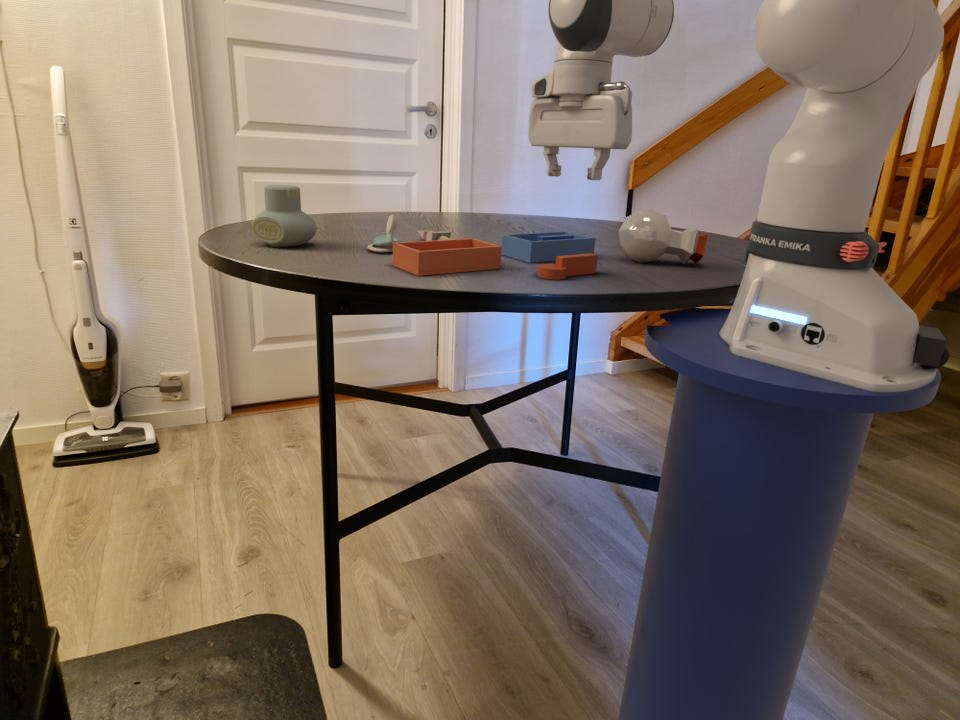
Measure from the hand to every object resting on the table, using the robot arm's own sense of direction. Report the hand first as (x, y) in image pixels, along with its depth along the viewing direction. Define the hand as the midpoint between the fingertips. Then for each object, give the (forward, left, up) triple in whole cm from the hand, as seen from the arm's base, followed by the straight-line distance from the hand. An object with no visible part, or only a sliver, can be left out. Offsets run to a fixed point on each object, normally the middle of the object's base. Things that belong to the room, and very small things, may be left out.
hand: (573, 178), depth 99 cm
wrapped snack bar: (+23, +10, -15) cm, 29 cm away
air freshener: (+34, +36, -15) cm, 52 cm away
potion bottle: (-3, -20, -15) cm, 25 cm away
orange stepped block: (-5, +4, -14) cm, 16 cm away
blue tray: (+9, -4, -14) cm, 17 cm away
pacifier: (+23, +22, -15) cm, 35 cm away
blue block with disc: (+9, -4, -14) cm, 17 cm away
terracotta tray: (+7, +19, -14) cm, 25 cm away
